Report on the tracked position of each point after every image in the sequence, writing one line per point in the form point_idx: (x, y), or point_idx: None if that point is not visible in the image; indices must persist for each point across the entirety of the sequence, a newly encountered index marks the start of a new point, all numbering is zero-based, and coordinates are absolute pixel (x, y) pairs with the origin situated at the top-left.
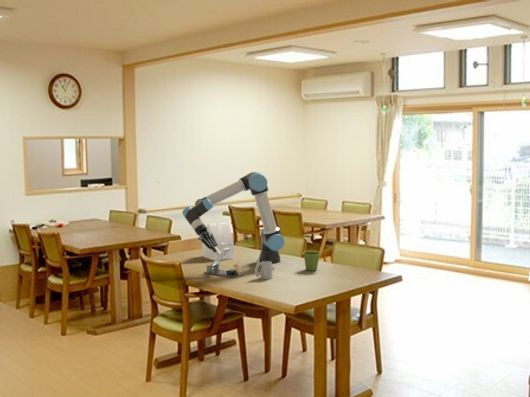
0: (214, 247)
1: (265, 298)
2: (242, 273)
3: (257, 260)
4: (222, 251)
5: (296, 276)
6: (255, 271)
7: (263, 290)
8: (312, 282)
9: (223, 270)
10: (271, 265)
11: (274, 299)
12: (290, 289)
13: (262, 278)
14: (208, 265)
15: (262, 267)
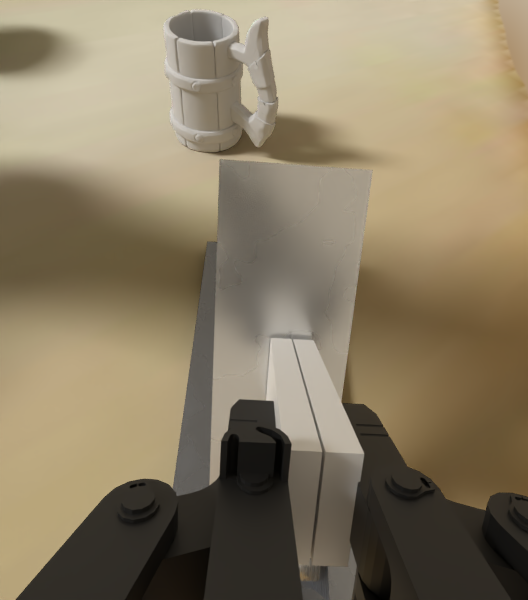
0: (356, 454)
1: (503, 44)
2: (212, 249)
3: (266, 25)
4: (362, 236)
5: (110, 57)
6: (276, 113)
7: (426, 74)
8: (193, 6)
9: (183, 447)
10: (199, 31)
11: (487, 27)
12: (340, 26)
13: (240, 137)
14: (339, 584)
15: (240, 68)
